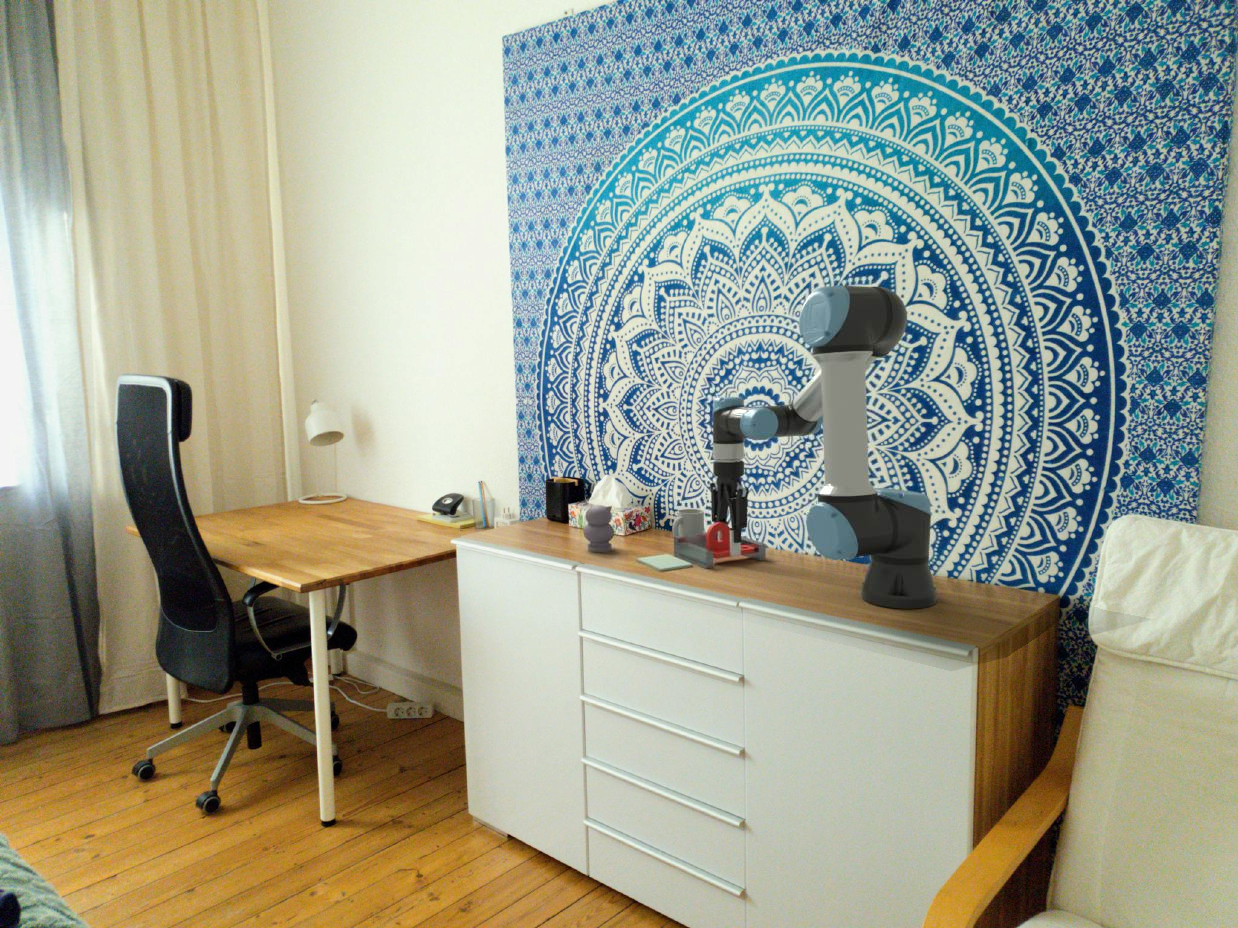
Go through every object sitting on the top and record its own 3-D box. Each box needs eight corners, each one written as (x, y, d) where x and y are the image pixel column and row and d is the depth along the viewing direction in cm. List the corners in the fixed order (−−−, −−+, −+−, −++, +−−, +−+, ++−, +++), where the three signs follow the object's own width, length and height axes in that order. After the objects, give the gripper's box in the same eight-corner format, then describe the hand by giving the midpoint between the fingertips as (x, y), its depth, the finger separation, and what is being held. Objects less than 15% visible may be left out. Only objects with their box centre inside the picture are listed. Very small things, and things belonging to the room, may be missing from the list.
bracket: (716, 558, 214) (716, 526, 213) (706, 554, 218) (706, 523, 217) (756, 552, 219) (756, 521, 218) (745, 549, 223) (745, 518, 222)
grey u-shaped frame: (765, 559, 220) (765, 539, 219) (706, 568, 212) (706, 548, 211) (721, 544, 237) (721, 526, 236) (665, 552, 229) (664, 533, 228)
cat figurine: (577, 549, 233) (576, 505, 232) (597, 544, 239) (596, 501, 237) (601, 554, 228) (600, 508, 226) (621, 548, 234) (620, 504, 232)
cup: (709, 543, 238) (709, 511, 237) (682, 549, 232) (682, 516, 231) (690, 539, 244) (690, 507, 242) (664, 545, 237) (663, 512, 236)
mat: (692, 566, 214) (692, 564, 214) (660, 571, 210) (660, 568, 210) (667, 556, 225) (667, 554, 224) (636, 560, 220) (636, 558, 220)
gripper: (762, 462, 209) (762, 558, 212) (721, 455, 225) (721, 545, 228) (736, 464, 206) (737, 562, 209) (696, 457, 221) (697, 548, 224)
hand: (729, 553), depth 218 cm, fingers closed on bracket, 4 cm apart
